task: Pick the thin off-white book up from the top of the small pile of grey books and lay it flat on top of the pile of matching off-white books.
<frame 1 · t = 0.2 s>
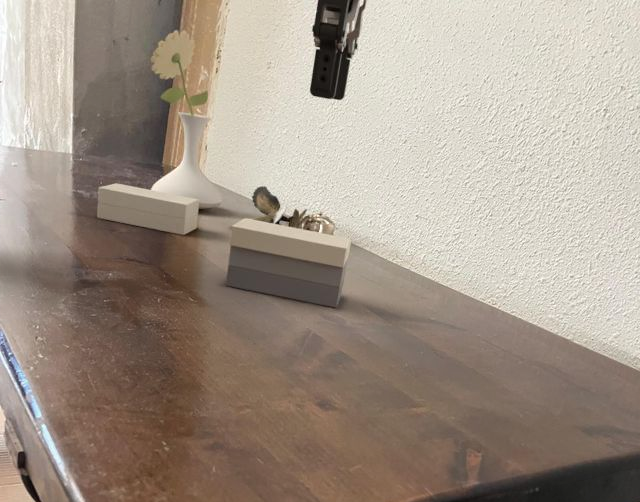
hand: (327, 98, 70), 20 cm above the table, tool pointing down, fingers open, 8 cm apart
grey books: (284, 291, 81), on the table
white book: (290, 251, 79), point 4 cm above the table, touching grey books
flower in vase: (181, 207, 120), on the table
white books: (148, 223, 102), on the table
ornament: (310, 238, 114), on the table
eagle figurine: (265, 236, 109), on the table
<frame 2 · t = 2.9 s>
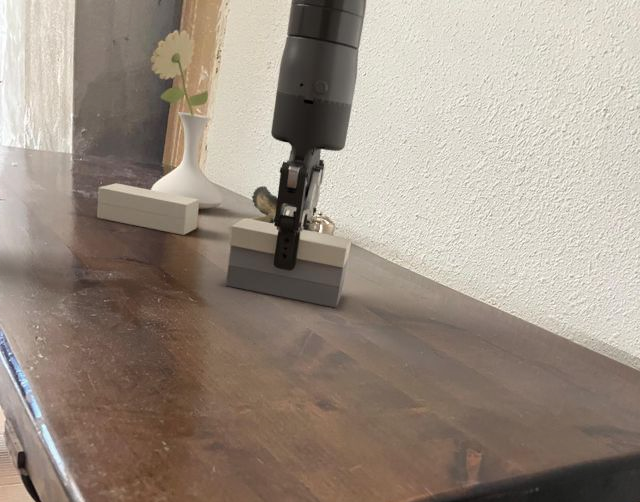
hand: (289, 261, 80), 3 cm above the table, tool pointing down, fingers closed on white book, 6 cm apart
white book: (290, 251, 79), point 4 cm above the table, touching grey books, gripper
everything else where it was.
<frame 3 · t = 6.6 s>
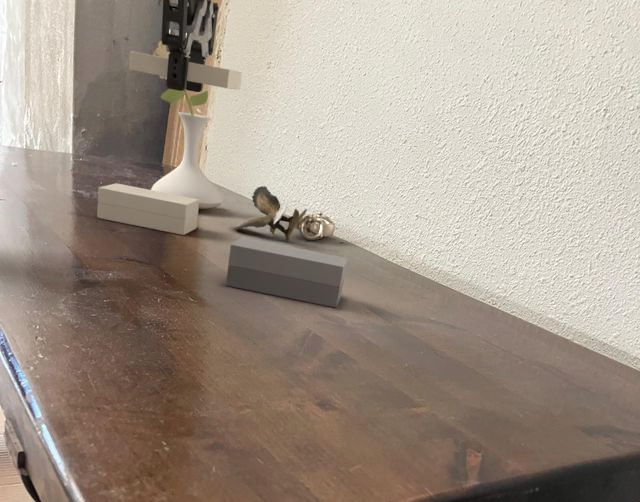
hand: (184, 90, 91), 18 cm above the table, tool pointing down, fingers closed on white book, 6 cm apart
white book: (186, 80, 90), point 19 cm above the table, touching gripper
everything else where it was.
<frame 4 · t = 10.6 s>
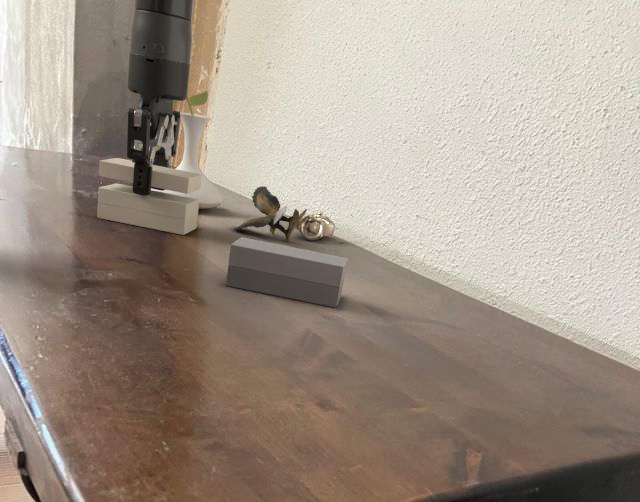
hand: (149, 191, 101), 4 cm above the table, tool pointing down, fingers closed on white book, 6 cm apart
white book: (150, 182, 100), point 5 cm above the table, touching gripper
everything else where it was.
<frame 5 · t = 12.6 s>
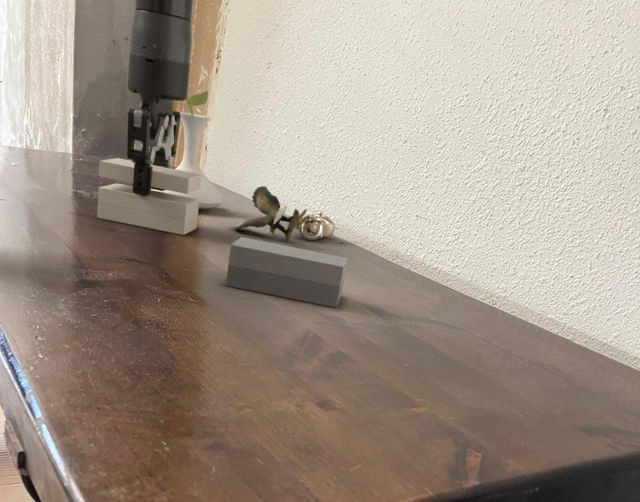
hand: (149, 191, 101), 4 cm above the table, tool pointing down, fingers closed on white book, 6 cm apart
white book: (150, 183, 100), point 5 cm above the table, touching gripper
everything else where it was.
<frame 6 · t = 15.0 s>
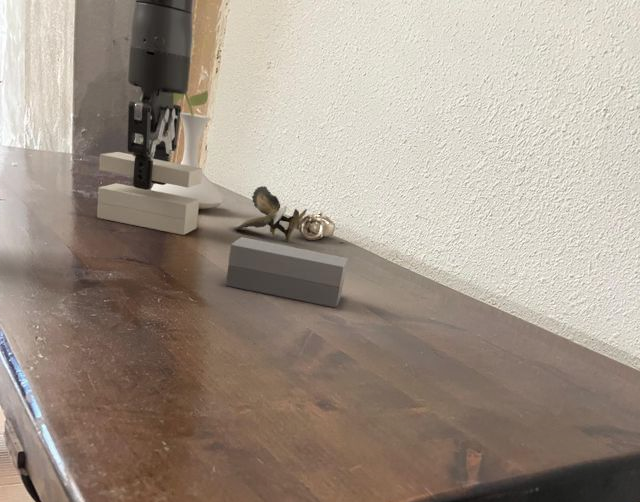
hand: (150, 185, 100), 5 cm above the table, tool pointing down, fingers closed on white book, 6 cm apart
white book: (151, 177, 100), point 6 cm above the table, touching gripper
everything else where it was.
when the fingers open (5 cm above the table, at t = 18.9 s): white book drops 2 cm, resting on white books.
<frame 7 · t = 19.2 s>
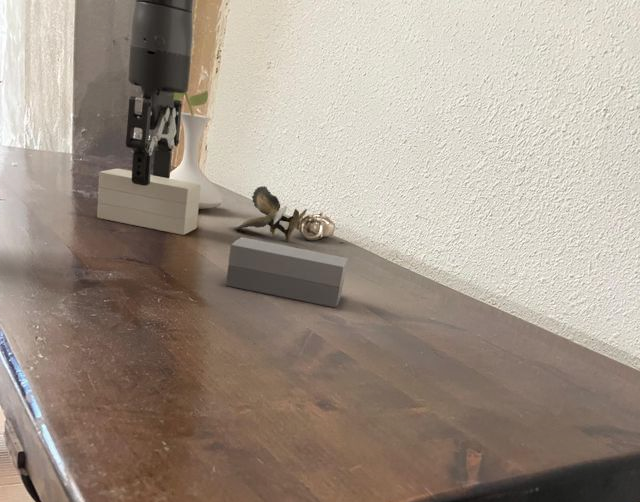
hand: (151, 181, 100), 6 cm above the table, tool pointing down, fingers open, 8 cm apart
white book: (150, 193, 101), point 4 cm above the table, touching white books
everything else where it was.
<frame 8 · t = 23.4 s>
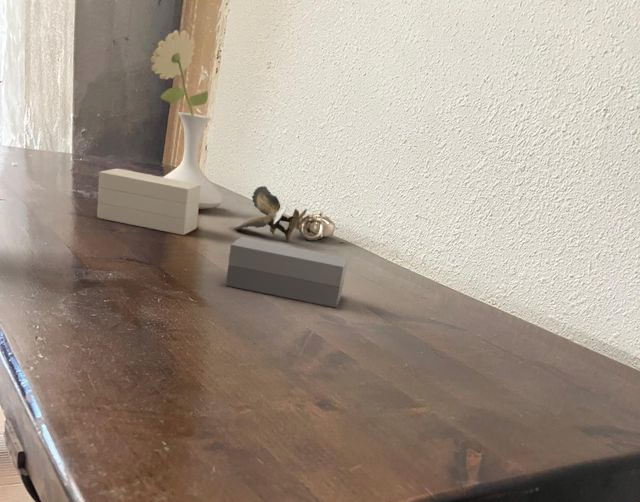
nothing on the table moved.
at the end: white book 0.0 cm off-centre on the white books, point 4.0 cm above the white books's base; white book tilted 0° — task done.
